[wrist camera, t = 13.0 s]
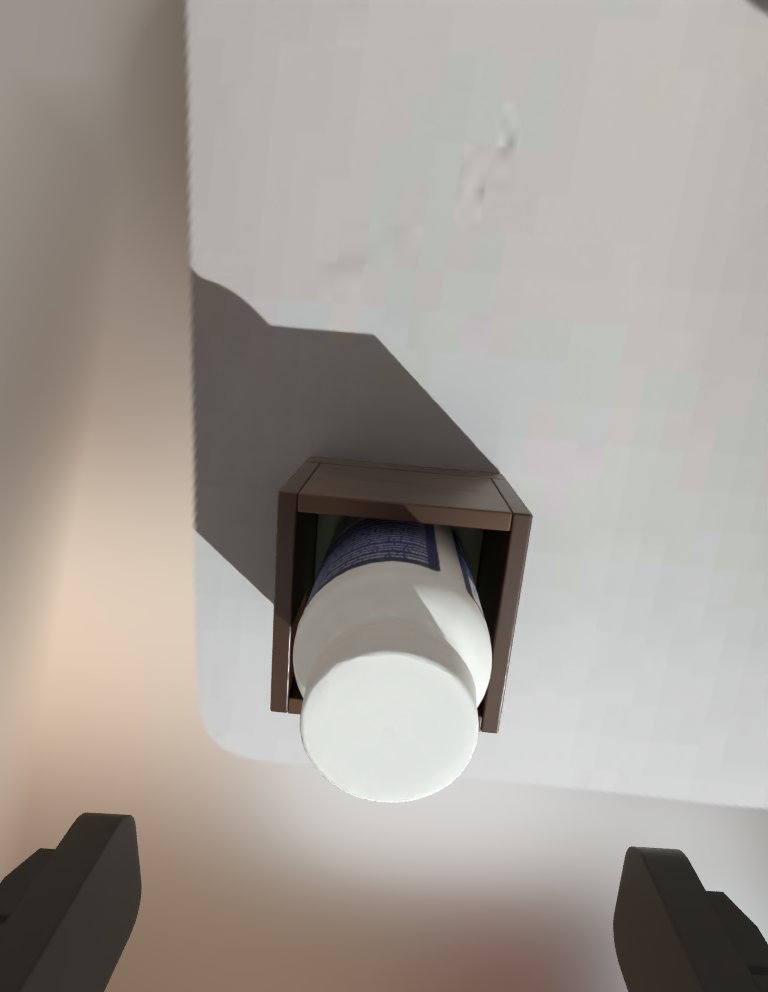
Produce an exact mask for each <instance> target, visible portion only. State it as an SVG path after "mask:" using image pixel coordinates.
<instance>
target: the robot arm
mask: <svg viewBox="0 0 768 992" xmlns="http://www.w3.org/2000/svg"><path fill="white" fill-rule="evenodd" d="M140 899H141V875H140V865H139V856H138V845H137V836H136V825H135V821H134V818H133V817H132V816H131V815H120V814H102V813H84V814H82V815H80V816H79V817H78V818H77V819H76V821H75V822H74V823H73V824H72V826H71V827H70V829H69V830H68V832H67V833H66V835H65V836H64V838H63V839H62V841H61V842H60V843H59V845H58V846H57V848H56V849H43V848H40V849H39V850H37V851H36V852H35V853H34V854H32V855H31V856H30V857H29V858H28V859H26V860H25V861H24V862H23V863H22V864H20V865H19V866H18V867H17V868H16V869H14V870H13V871H12V872H11V873H10V874H8V875H7V876H6V877H5V878H4V879H3V880H2V882H1V883H0V992H104V991H105V988H106V986H107V984H108V982H109V980H110V978H111V975H112V973H113V971H114V969H115V967H116V964H117V963H118V960H119V958H120V956H121V954H122V951H123V949H124V947H125V945H126V943H127V941H128V939H129V937H130V934H131V932H132V929H133V927H134V924H135V921H136V918H137V914H138V909H139V905H140ZM613 931H614V942H615V948H616V954H617V958H618V962H619V965H620V969H621V971H622V974H623V977H624V980H625V983H626V986H627V989H628V992H768V944H767V942H766V941H765V939H764V937H763V936H762V934H761V932H760V931H759V929H758V927H757V926H756V925H755V924H754V923H753V922H752V921H751V920H750V919H749V918H748V917H747V916H746V915H745V914H744V913H743V912H742V911H741V910H740V909H739V908H738V907H737V906H736V905H735V904H734V903H733V902H732V901H731V900H730V899H729V898H728V897H727V896H726V895H725V894H724V893H723V892H715V891H706V890H705V889H704V887H703V885H702V883H701V881H700V880H699V878H698V876H697V874H696V872H695V870H694V869H693V867H692V865H691V863H690V862H689V860H688V858H687V857H686V856H685V854H684V853H683V852H682V851H680V850H677V849H662V848H646V847H629V848H628V850H627V852H626V855H625V860H624V865H623V871H622V876H621V881H620V887H619V892H618V897H617V902H616V907H615V913H614V920H613Z"/></svg>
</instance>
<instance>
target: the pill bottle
mask: <svg viewBox="0 0 768 992" xmlns="http://www.w3.org/2000/svg"><path fill="white" fill-rule="evenodd" d="M293 666H294V673H295V678H296V681H297V685H298V688H299V690H300V692H301V695H302V697H303V703H302V708H301V715H300V732H301V738H302V742H303V746H304V749H305V751H306V753H307V755H308V757H309V759H310V761H311V762H312V764H313V765H314V766H315V768H316V769H317V770H318V771H319V772H320V773H321V774H322V776H323V777H324V778H326V779H327V780H328V781H329V782H330V783H332V784H333V785H334V786H336V787H338V788H339V789H341V790H343V791H345V792H347V793H349V794H351V795H354V796H356V797H360V798H363V799H366V800H371V801H375V802H393V803H394V802H406V801H412V800H417V799H420V798H423V797H426V796H429V795H431V794H433V793H436V792H437V791H439V790H441V789H442V788H444V787H446V786H447V785H449V784H450V783H451V782H453V781H454V780H455V779H456V778H457V777H458V776H459V775H460V774H461V773H462V771H463V770H464V769H465V767H466V766H467V764H468V763H469V761H470V760H471V758H472V755H473V753H474V750H475V748H476V743H477V739H478V731H479V722H478V711H477V707H478V706H479V704H480V702H481V701H482V699H483V697H484V694H485V692H486V689H487V687H488V683H489V680H490V675H491V669H492V649H491V643H490V636H489V632H488V628H487V624H486V621H485V618H484V615H483V611H482V608H481V604H480V601H479V597H478V594H477V590H476V587H475V584H474V580H473V577H472V573H471V570H470V567H469V564H468V560H467V557H466V554H465V551H464V549H463V546H462V543H461V541H460V539H459V537H458V535H457V534H456V532H455V530H454V529H453V528H452V526H446V525H435V524H424V523H413V522H402V521H391V520H380V519H369V518H358V517H349V518H348V519H347V520H346V521H345V522H344V523H343V524H342V525H341V526H340V527H339V529H338V530H337V532H336V533H335V535H334V537H333V538H332V540H331V542H330V544H329V546H328V549H327V552H326V554H325V557H324V560H323V562H322V565H321V568H320V570H319V573H318V575H317V578H316V581H315V584H314V586H313V589H312V591H311V594H310V596H309V599H308V602H307V604H306V607H305V609H304V612H303V614H302V617H301V619H300V621H299V623H298V628H297V632H296V636H295V641H294V648H293Z"/></svg>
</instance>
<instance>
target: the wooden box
mask: <svg viewBox="0 0 768 992" xmlns="http://www.w3.org/2000/svg"><path fill="white" fill-rule="evenodd" d="M349 517H358V518H369V519H380V520H391V521H402V522H413V523H424V524H435V525H446V526H452V528H453V529H454V530H455V532H456V534H457V535H458V537H459V539H460V541H461V543H462V546H463V549H464V551H465V554H466V557H467V560H468V564H469V567H470V570H471V573H472V577H473V580H474V584H475V587H476V590H477V594H478V597H479V601H480V604H481V608H482V611H483V615H484V618H485V621H486V624H487V628H488V632H489V636H490V643H491V649H492V669H491V675H490V680H489V683H488V687H487V689H486V692H485V694H484V697H483V699H482V701H481V702H480V704H479V706H478V707H477V711H478V722H479V731H478V732H480V730H481V731H482V732H489V733H498V730H499V724H500V718H501V712H502V705H503V699H504V693H505V686H506V680H507V674H508V668H509V661H510V655H511V649H512V643H513V636H514V630H515V624H516V617H517V611H518V605H519V599H520V592H521V586H522V580H523V573H524V567H525V561H526V555H527V548H528V542H529V536H530V529H531V523H532V517H533V516H532V514H531V512H530V511H529V510H528V508H527V507H526V506H525V504H524V503H523V502H522V500H521V499H520V498H519V496H518V495H517V494H516V492H515V491H514V490H513V488H512V487H511V486H510V484H509V483H508V481H507V480H506V479H505V477H504V476H503V475H502V474H495V473H484V472H473V471H462V470H451V469H440V468H428V467H417V466H406V465H395V464H384V463H373V462H361V461H350V460H339V459H328V458H317V457H309V458H308V459H307V460H306V461H305V462H304V464H303V465H302V466H301V467H300V468H299V469H298V470H297V471H296V473H295V474H294V475H293V476H292V477H291V478H290V479H289V481H288V482H287V483H286V484H285V485H284V486H283V487H282V488H281V490H280V491H279V492H278V505H277V534H276V563H275V591H274V620H273V649H272V678H271V707H270V709H271V711H274V712H284V713H286V712H288V713H291V714H301V708H302V703H303V697H302V695H301V692H300V690H299V688H298V685H297V681H296V678H295V673H294V666H293V648H294V641H295V636H296V632H297V628H298V623H299V621H300V619H301V617H302V614H303V612H304V609H305V607H306V604H307V602H308V599H309V596H310V594H311V591H312V589H313V586H314V584H315V581H316V578H317V575H318V573H319V570H320V568H321V565H322V562H323V560H324V557H325V554H326V552H327V549H328V546H329V544H330V542H331V540H332V538H333V537H334V535H335V533H336V532H337V530H338V529H339V527H340V526H341V525H342V524H343V523H344V522H345V521H346V520H347V519H348V518H349Z"/></svg>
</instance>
